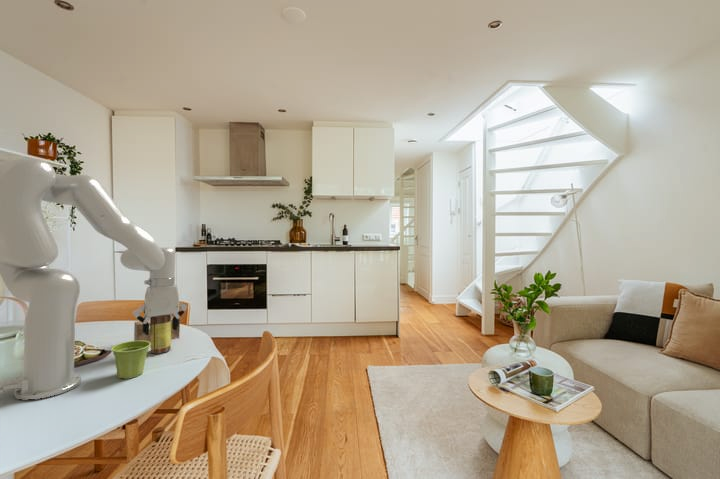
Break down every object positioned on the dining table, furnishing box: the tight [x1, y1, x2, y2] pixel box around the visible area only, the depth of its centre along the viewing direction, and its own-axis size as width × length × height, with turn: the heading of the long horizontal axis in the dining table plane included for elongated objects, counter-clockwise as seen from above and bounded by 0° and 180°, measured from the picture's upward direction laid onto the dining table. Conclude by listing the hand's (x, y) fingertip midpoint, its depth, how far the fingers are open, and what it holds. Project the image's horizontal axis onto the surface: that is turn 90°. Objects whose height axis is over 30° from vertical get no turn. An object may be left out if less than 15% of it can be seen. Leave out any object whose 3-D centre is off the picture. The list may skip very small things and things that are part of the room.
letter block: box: [133, 315, 181, 342], centre depth 121 cm, size 14×5×8 cm, turn 135°
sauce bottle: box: [149, 315, 172, 355], centre depth 110 cm, size 6×6×20 cm
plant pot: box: [110, 340, 151, 380], centre depth 92 cm, size 9×9×9 cm
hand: (160, 331), depth 110 cm, fingers open, 8 cm apart
